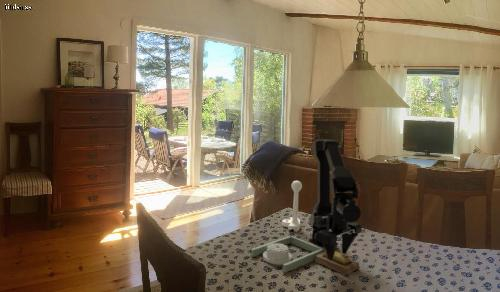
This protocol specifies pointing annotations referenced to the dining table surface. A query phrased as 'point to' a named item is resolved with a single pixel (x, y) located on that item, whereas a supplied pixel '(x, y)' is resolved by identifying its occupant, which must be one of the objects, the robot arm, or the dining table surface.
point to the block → (340, 258)
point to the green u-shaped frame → (297, 242)
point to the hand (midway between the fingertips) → (337, 256)
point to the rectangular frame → (337, 264)
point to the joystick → (294, 209)
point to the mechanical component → (277, 254)
